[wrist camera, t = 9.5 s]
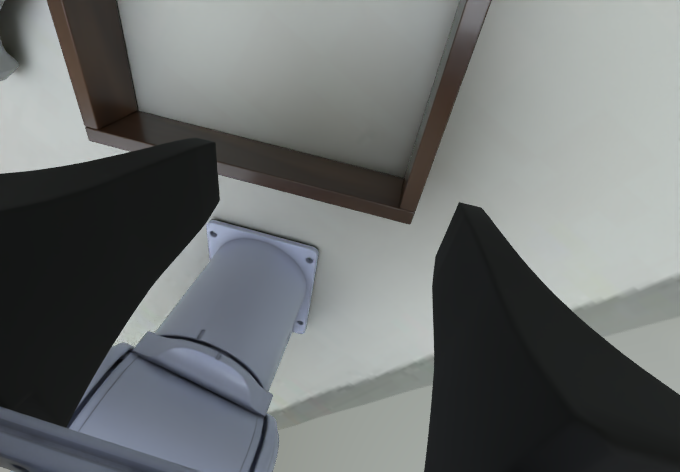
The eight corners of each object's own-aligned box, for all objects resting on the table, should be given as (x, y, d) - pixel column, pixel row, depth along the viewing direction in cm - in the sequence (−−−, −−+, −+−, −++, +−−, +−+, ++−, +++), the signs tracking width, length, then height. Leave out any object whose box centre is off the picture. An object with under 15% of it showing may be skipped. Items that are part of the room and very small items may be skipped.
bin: (413, 193, 20) (410, 225, 18) (128, 120, 22) (88, 140, 19) (548, -197, 11) (579, -242, 9) (40, -285, 12) (-60, -347, 10)
